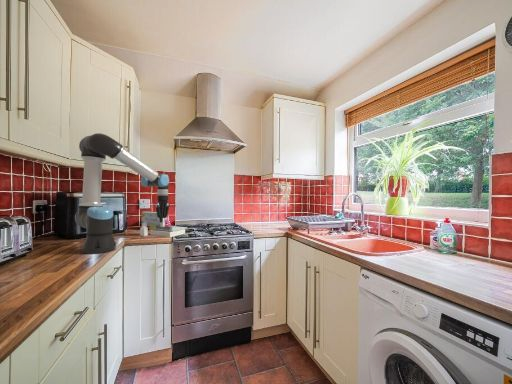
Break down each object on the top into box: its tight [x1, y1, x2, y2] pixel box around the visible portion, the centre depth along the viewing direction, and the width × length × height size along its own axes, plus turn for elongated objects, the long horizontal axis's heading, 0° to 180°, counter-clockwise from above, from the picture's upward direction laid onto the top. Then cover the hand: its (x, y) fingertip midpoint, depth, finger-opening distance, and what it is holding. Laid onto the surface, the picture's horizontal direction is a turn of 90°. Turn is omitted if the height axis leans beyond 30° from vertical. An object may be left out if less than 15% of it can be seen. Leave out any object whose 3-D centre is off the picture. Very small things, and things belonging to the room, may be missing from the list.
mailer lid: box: [153, 225, 188, 231], centre depth 174 cm, size 16×20×3 cm
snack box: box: [140, 211, 166, 231], centre depth 192 cm, size 21×6×15 cm, turn 73°
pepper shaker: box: [139, 223, 149, 237], centre depth 163 cm, size 4×4×10 cm
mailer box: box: [149, 229, 186, 238], centre depth 171 cm, size 16×20×4 cm
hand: (162, 226), depth 166 cm, fingers closed
